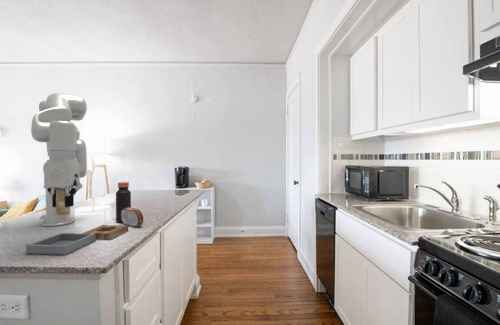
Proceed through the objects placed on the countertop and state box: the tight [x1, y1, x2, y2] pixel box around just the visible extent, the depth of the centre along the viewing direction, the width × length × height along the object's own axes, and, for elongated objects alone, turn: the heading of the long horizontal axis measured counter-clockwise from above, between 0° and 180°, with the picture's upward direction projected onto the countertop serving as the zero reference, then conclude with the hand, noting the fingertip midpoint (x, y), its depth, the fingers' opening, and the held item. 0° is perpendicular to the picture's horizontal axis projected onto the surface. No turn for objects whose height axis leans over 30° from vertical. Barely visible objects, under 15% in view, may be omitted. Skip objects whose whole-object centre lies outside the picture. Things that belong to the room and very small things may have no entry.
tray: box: [25, 232, 97, 256], centre depth 88 cm, size 14×14×3 cm
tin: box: [121, 207, 144, 228], centre depth 117 cm, size 15×3×8 cm, turn 58°
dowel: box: [56, 188, 71, 215], centre depth 88 cm, size 4×4×9 cm
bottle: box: [115, 181, 132, 224], centre depth 125 cm, size 7×7×20 cm
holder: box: [83, 224, 129, 241], centre depth 103 cm, size 12×12×2 cm
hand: (63, 206), depth 88 cm, fingers closed on dowel, 4 cm apart
